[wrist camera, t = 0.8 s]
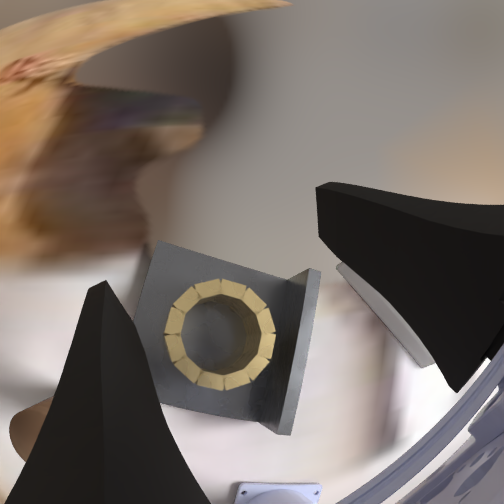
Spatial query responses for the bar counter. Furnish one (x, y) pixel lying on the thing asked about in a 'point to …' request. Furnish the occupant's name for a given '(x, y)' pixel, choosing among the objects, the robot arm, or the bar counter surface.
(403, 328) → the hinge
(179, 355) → the cup bracket
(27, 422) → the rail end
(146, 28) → the bar counter surface
